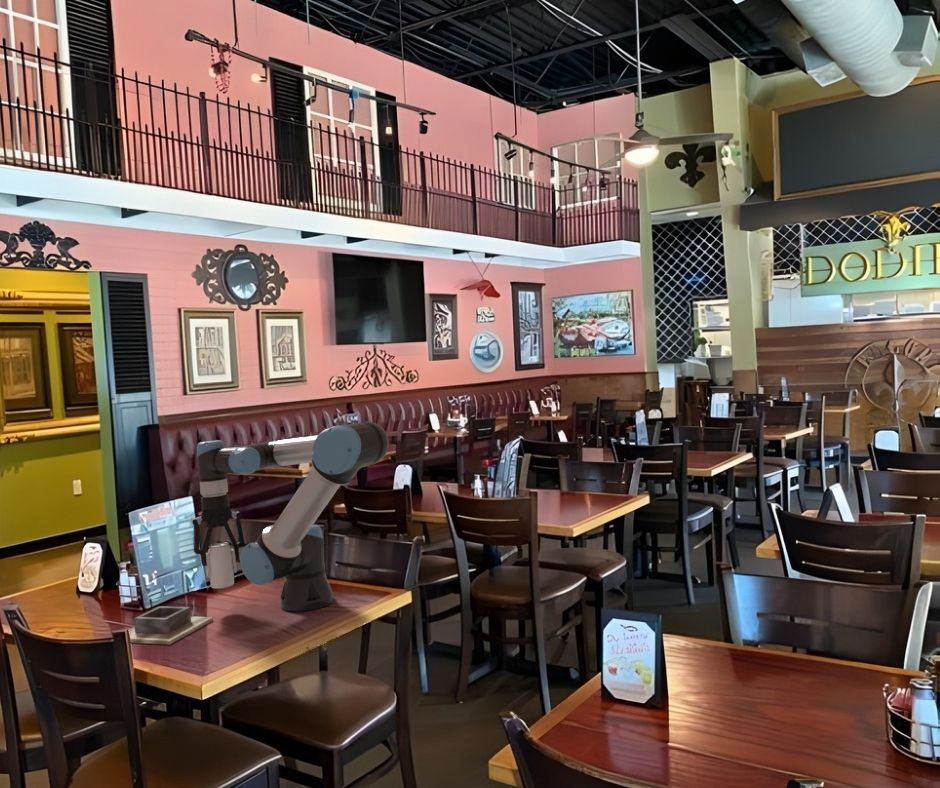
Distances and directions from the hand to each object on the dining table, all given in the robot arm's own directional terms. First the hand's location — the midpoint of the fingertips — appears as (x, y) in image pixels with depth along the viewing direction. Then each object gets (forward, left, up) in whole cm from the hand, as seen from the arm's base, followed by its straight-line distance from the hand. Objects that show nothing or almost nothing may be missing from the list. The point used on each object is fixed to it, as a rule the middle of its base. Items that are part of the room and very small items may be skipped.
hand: (221, 573), depth 221 cm
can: (0, 0, -4) cm, 4 cm away
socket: (+7, +17, -11) cm, 21 cm away
